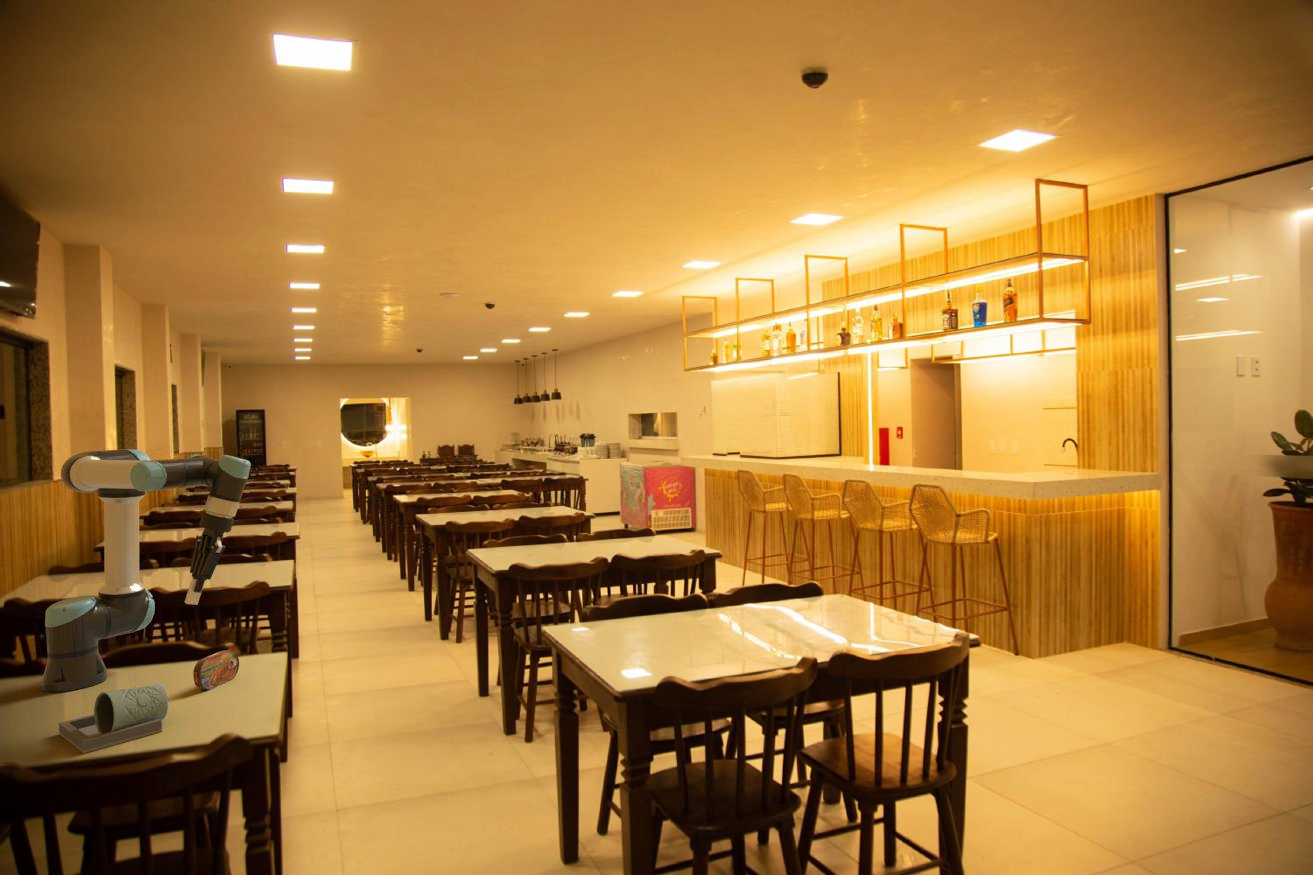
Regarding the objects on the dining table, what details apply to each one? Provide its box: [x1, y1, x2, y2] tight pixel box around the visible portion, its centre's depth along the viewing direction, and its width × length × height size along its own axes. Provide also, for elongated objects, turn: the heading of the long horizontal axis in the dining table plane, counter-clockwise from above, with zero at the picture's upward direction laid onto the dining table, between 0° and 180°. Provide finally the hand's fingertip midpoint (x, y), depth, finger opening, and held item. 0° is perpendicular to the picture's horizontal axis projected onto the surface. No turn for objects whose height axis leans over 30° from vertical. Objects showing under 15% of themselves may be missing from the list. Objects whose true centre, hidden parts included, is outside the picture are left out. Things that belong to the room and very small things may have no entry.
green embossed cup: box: [93, 683, 169, 735], centre depth 197 cm, size 10×10×12 cm
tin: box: [192, 649, 240, 690], centre depth 231 cm, size 15×3×8 cm, turn 168°
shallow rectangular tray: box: [58, 713, 163, 754], centre depth 197 cm, size 19×16×3 cm
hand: (190, 603), depth 219 cm, fingers closed
